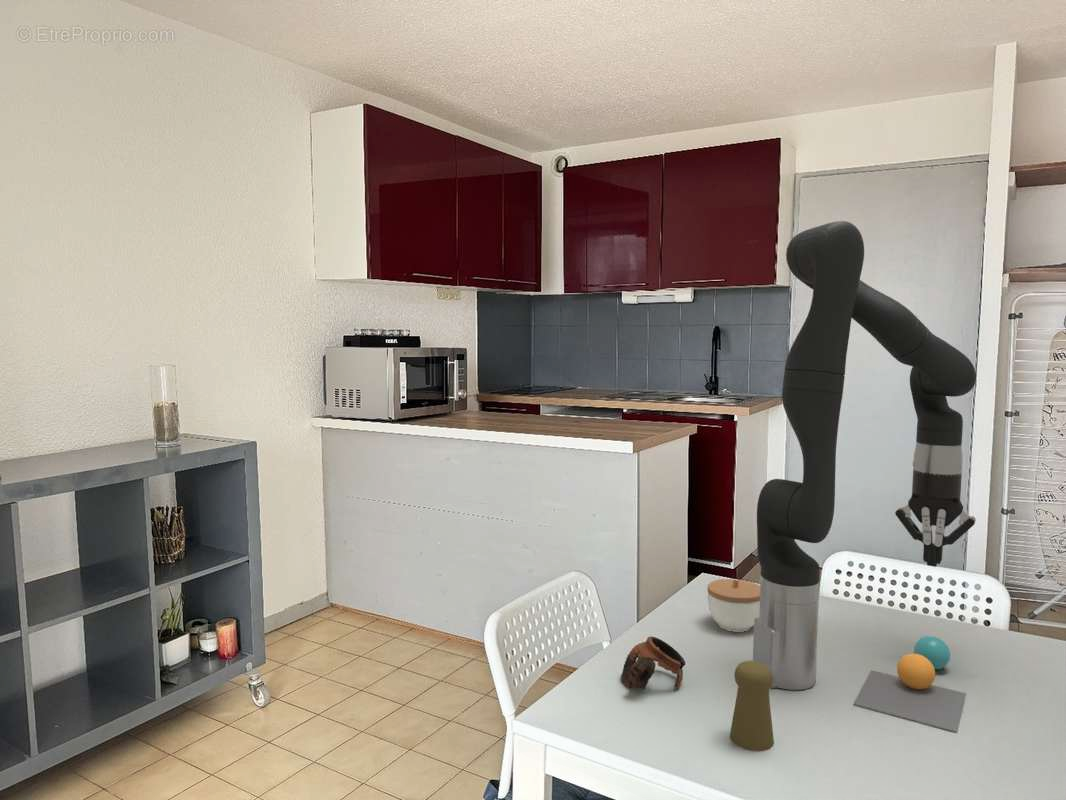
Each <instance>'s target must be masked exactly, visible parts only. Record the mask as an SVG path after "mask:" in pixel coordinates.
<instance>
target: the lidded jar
mask: <svg viewBox="0 0 1066 800" xmlns="http://www.w3.org/2000/svg"><path fill="white" fill-rule="evenodd" d="M707 602H708V603H707V605H708V609H709V612H710V614H711V616H712V618H713V620H714V621H715V622H716V623H717V624H718V627H720V628H721V629H722V630H724V629H725V631H727V632H731V631H733V632H732V633H745V632H744V631H746V632H748V630H749V629H750V628H752V627H754V619H755V618H758V617H759V609H760V585H759V584H756V583H754V582H752V581H748V580H742V579H737V578H723V579H717V580H713V581H710V582H709V583H708V584H707ZM750 630H751V629H750ZM750 630H749V631H750Z"/></svg>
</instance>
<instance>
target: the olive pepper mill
mask: <svg viewBox="0 0 1066 800" xmlns="http://www.w3.org/2000/svg"><path fill="white" fill-rule="evenodd" d="M734 680H735V684H736V685H737V691H736V697H735V702H734V703H735V704H734V708H733V714H732V715H733V716H732V721H731V727H730V730H729V731H730V733H729V739H730V741H731V742H732V744H734V745H736V747H739V748H741V749H743V750H748V751H750V752H751V751H752V752H765V751H769V750H771V749H772V748H773V747H774V745H775V739H774V731H773V728H774V727H773V721H772V720H773V719H772V711H771V701H770V700H771V699H770V693H769V691H770V690H771V689H772V688H771V686H772V683H773V675H772V671H771V670H770V668H769V667H768V666H766V665H765V664H763V663H760V662H757V661H753V660H746V661H742V662H739V663H738V664H737V666H736V668H735V669H734ZM771 747H772V748H771Z"/></svg>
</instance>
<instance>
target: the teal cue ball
mask: <svg viewBox="0 0 1066 800" xmlns="http://www.w3.org/2000/svg"><path fill="white" fill-rule="evenodd" d="M913 654H919V655H922V656H924V657H925V658H927V659H928V660H929V661H930V662H931V663H932V665H933V667H934V670H937V671H938V670H941V669H944V668H945V667H946V666H947V665H948V664H949V663H950V660H951V650H950V648H949V646H948V645H947V643H946V642H945V641H943V640H942V639H941V638H939V637H936V636H933V635H925V636H922V637H920V638H919V639H918V640H917V641H916V642H915V644H914V647H913Z"/></svg>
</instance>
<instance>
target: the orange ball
mask: <svg viewBox="0 0 1066 800" xmlns="http://www.w3.org/2000/svg"><path fill="white" fill-rule="evenodd" d="M896 671H897V677H899V678H900V679H901V681H902V682H903V683H904V684H905V685H907V686H908V687H910V688H913V689H918V690H920V689H925V688H928V687H929V686H930V685H933V683H934V682H935V679H936V671H935V670H934V667H933V665H932V663H931V662H930V661H929V660H928V659H927V658H925V657H924V656H922V655H919V654H914V653H908V654H905V655H903V656H902V657H901V658H900V659H899V660H898V663H897V667H896Z"/></svg>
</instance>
